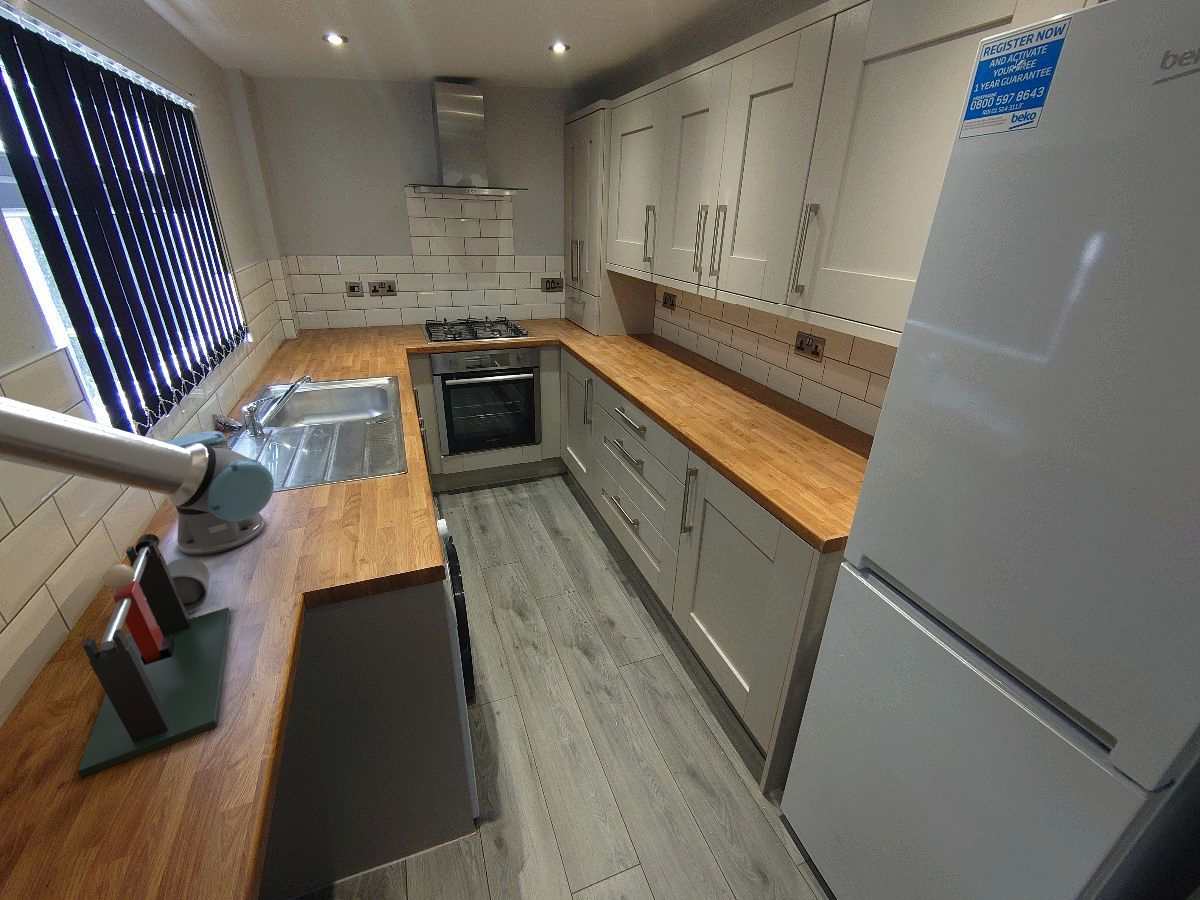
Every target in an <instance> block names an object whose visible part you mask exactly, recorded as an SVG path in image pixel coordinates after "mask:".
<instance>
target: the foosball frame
mask: <svg viewBox="0 0 1200 900" xmlns="http://www.w3.org/2000/svg"><path fill="white" fill-rule="evenodd" d="M149 549H150V551H151V553H152V555H150V556H149V558H148V561H147V563H146V566H145V568H144V571H143V574H142V576H141V579H140V582H139V584H138V585H139V587H140V589H141V591H142V593H143V595H144V598H145V600H147V602H148V604H149V606H150V608H151V611H152V613H153V615H154V616H153V617H154V619H155V621H156V624H157V626H158V628H159V630H160V632H161V634H162V637H163V638H165V637H168V636H172V638H173V640H174V642H175V646H174V650H173V655H172V657H169V658H166V659H163V660H160V661H157V662H153V663H150V664H147V665H144V663H143V661H142V659H141V653H140V651H139V649H138V647H137V645H136V643H135V641H134V639H133V637H132V635H129V636H126V634H125V633H124V631H123V628H122V629H118V630H115V633H114V635H113V640H114V642H115V647H114V648H113V649H112V650H109V651H103V650H101V649H100V648H99V646H98V645H97V643H96V641H95V639H94V637H93V636H90V637H87V638H85V640H84V642H83V644H82V648H83V650H84V652H85V654H86V656H87V658H88V659H89V660H88V663H89V665H90V666H91V669H92V670H93V672H94V674H95V675H96V677H97V679H98V681H99V683H100V685H101V686H102V688H103V690H104V692H105V695H104V697H103V700H102V702H101V705H100V708H99V711H98V714H97V716H96V719H95V721H94V724H93V728H92V730H91V733H90V736H89V739H88V741H87V744H86V747H85V750H84V752H83V755H82V758H81V760H80V764H79V766H78V769H77V773H78V775H79V776H80V777H81V778H84V777H87V776H89V775H92V774H95V773H97V772H100V771H103V770H105V769H108V768H110V767H112V766H116V765H118V764H121V763H123V762H126V761H129V760H132V759H134V758H137V757H140V756H143V755H145V754H148V753H150V752H153V751H157V750H159V749H162V748H164V747H166V746H169V745H172V744H175V743H177V742H180V741H182V740H185V739H188V738H190V737H192V736H195V735H198V734H202V733H203V732H206V731H209V730H211V729H214V728H217V727H218V723H219V715H220V705H221V698H222V690H223V682H224V681H223V680H224V673H225V672H224V671H225V664H226V655H227V646H228V639H229V638H228V637H229V629H230V622H231V621H230V620H231V610H230V607H224V608H221V609H217V610H214V611H210V612H207V613H204V614H200V615H198V616H194V617H191V618H190V617H189V613H187V611H186V609H185V607H184V604H183V602H182V600H181V597H180V595H179V593H178V590H177V588H176V586H175V583H174V581H173V579H172V576H171V574H170V572H169V569H168V567H167V565H168V564H167V562H166V560H165V558H164V555H163V553H162V552H161V551H160V548H159V546H158V547H157V544H156V542H155V541H152V542H150V544H149ZM125 553H126V556H127V558H128V559H129V562H130V567H133V564H134V562H135V559H136V557H137V555H138V554H137V553H136V551H135V547H134V546H133V545H131V546H128V547H127V549H126V551H125Z"/></svg>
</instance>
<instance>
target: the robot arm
mask: <svg viewBox="0 0 1200 900" xmlns="http://www.w3.org/2000/svg"><path fill="white" fill-rule="evenodd" d="M0 461H2V462H3V461H4V462H8V463H11V464H12V463H13V464H18V465H22V466H28V467H31V468H37V469H42V470H46V471H51V472H56V473H61V474H66V475H70V476H74V477H80V478H85V479H89V480H95V481H99V482H103V483H109V484H114V485H118V486H123V487H127V488H132V489H137V490H142V491H147V492H150V493H151V492H152V493H156V494H161V495H164V497H165V498H166V500H167V502H168V503H169V504H170V505H173V506H175V509H176V511H177V514H178V517H177V518H178V519H177V520H178V521H177V539H176V540H177V544H178V546H179V549H180V551H181V552H182V553H183V554H186V555H189V556H211V555H215V554H220V553H223V552H226V551H229V550H230V551H231V550H232V549H233V550H234V549H235V548H238V547H240V546H242V545H245V544H246V543H248V542H249V541H252V540H253V539H255V538H256V537H257V536H258V535H259V534H260V533H261V532H262V531H263V530H264V526H265V523H264V520H263V519H264V518H263V517H262V514H261V513H260V512H261V511H263V510H264V509H265V507H266V506H268V504H269V502H270V501H271V499H272V497H273V493H274V489H275V481H274V478H273V477H274V476H273V475H272V473H271V472H270V470H269V469H268V468H267V467H266V466H265V465H263V464H262V462H260V461H259V460H255V459H253V458H250V457H247V456H245V455H243V454H241V453H239V452H236V451H235V450H232V449H230V448H229V445H228V439H227V438H226V437H225V435H224V433H223V432H221V431H218V430H212V431H211V430H209V431H202V432H201V431H200V432H196V433H191V434H187V435H183V436H179V437H176V438H173V439H170V440H167V441H162V440H159V439H155V438H151V437H148V436H144V435H140V434H136V433H134V432H129V431H127V430H123V429H119V428H116V427H112V426H108V425H105V424H102V423H97V422H94V421H91V420H88V419H87V420H86V419H84V418H81V417H77V416H72V415H69V414H66V413H63V412H60V411H59V412H58V411H55V410H51V409H48V408H44V407H40V406H38V405H34V404H30V403H26V402H22V401H20V400H16V399H13V398H9V397H5V396H3V395H0Z"/></svg>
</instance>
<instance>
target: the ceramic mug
mask: <svg viewBox="0 0 1200 900" xmlns="http://www.w3.org/2000/svg"><path fill="white" fill-rule="evenodd" d="M166 565H167V567H168V569H169V572H170V574H171V576H172V579H173V581H174V583H175V586H176V588H177V590H178V593H179V595H180V597H181V600H182V602H183V604H184V607H185V609H186V611H187V614H190V613H193V612H195V611H196V610H198V609H199V608H200V607H202V605H204V603H205V602H206V600H207V598H208V595H209V584H210V583H209V581H210V572H209V569H208V566H207V565H206V564H205V563H204V562H203V561H201V560H199V559H196V558H193V557H192V558H191V557H183V558H179V559H175V560H173V561H171V562H169V563H168V564H166ZM145 600H146V599H145ZM146 602H147V600H146ZM147 604H148V602H147ZM148 606H149V604H148ZM149 608H150V606H149ZM150 611H151V608H150ZM151 613H152V611H151ZM152 615H153V613H152ZM153 617H154V615H153Z"/></svg>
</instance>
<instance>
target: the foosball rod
mask: <svg viewBox="0 0 1200 900" xmlns="http://www.w3.org/2000/svg"><path fill="white" fill-rule="evenodd" d="M152 541H155V542H156V544H157V547H158V548H159V545H160V538H159V537H158V536H157V535H156V534H152V533H146V534H143V535H142V536H140V537H139V538H138V540H137V543H136V545H135V547H134V550H135V552H136V554H137V557H136V559H135V562H134V564H133V567H131V565H128V564H125V563H120V564H119V563H118V564H115V565H112V566H110V567H108V568H107V569H106V570H105V571H104V573H103V575H102V582H103V584H104V585H105V586H106V587H108V588H110V589H114V590H115V591H114V594H113V596H112V598H113V600H114V602H115V604H116V605H115V608H114V610H113V612H112V614H111V617H110V620H109V622H108V624H107V626H106V629H105V631H104V634H103V636H102V638H101V641H100V643H99V646H98V649H99V650H100V651H109V650H112V649H113V648H114V647H116V644H115V642H114V640H113V635H114V633H115V630H118V629H122V630H123V626H124V623H125V625H126V627H127V629H128V631H129V633H130V636H132V637H133V639H134V641H135V643H136V645H137V647H138V649H139V651H140V653H141V659H142V661H143V663H144V665H147V664H150V663H153V662H157V661H160V660H163V659H166V658H169V657H172V655H173V650H174V646H175V642H174V640H173V638H172V636H168V637H165V638H163V637H162V634H161V632H160V630H159V626H158V624H157V621H156V619H155V617H154V616H153V615H152V613H151V611H150V608H149V606H148V604H147V602H146V598H145V595H144V593H143V591H142V589H141V587H140V585H139V582H140V579H141V576H142V574H143V571H144V568H145V566H146V563H147V561H148V558H149V556H151V555H152V553H151V551H150V549H149V544H150V542H152Z"/></svg>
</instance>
